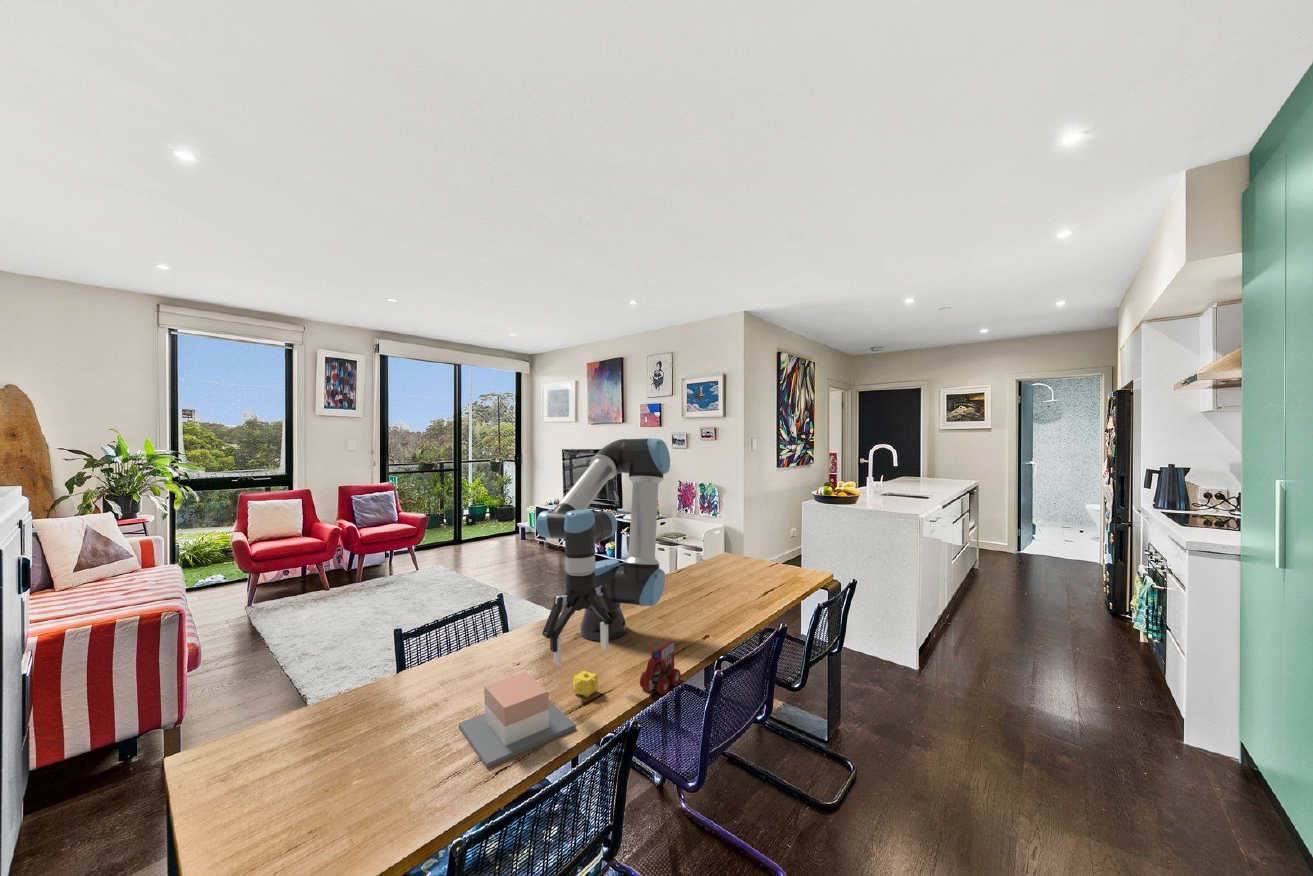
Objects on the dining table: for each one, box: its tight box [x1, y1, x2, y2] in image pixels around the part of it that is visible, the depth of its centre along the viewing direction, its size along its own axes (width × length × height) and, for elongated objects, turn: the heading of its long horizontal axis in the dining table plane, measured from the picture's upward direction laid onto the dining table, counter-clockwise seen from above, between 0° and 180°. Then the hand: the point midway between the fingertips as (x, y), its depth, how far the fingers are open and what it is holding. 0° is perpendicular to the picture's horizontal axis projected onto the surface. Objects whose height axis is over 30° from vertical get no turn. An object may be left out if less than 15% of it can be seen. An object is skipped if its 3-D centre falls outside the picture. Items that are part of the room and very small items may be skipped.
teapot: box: [571, 670, 599, 698], centre depth 126 cm, size 8×6×5 cm
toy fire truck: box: [639, 639, 682, 696], centre depth 128 cm, size 7×12×10 cm, turn 144°
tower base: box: [458, 671, 577, 769], centre depth 112 cm, size 20×18×9 cm
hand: (581, 656), depth 125 cm, fingers open, 13 cm apart
